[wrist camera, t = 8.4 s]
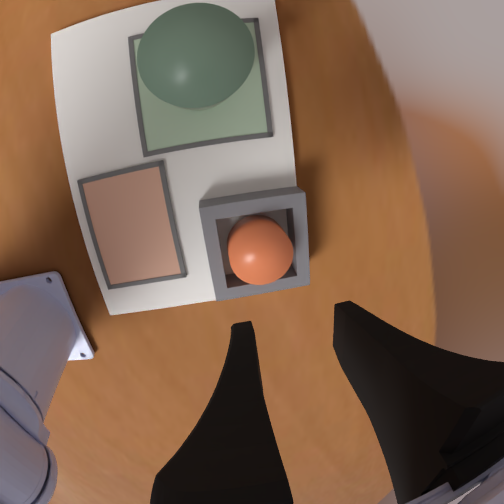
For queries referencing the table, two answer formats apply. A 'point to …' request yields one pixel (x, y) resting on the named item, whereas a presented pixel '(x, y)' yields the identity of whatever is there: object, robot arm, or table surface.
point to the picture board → (174, 163)
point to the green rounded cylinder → (195, 55)
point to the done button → (259, 250)
